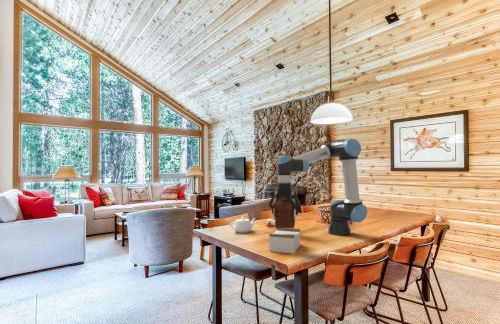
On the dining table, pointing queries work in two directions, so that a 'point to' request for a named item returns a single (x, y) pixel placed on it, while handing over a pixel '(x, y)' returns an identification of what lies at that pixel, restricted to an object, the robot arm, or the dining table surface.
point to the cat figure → (269, 222)
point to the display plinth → (284, 240)
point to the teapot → (242, 225)
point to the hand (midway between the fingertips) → (284, 220)
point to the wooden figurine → (284, 213)
